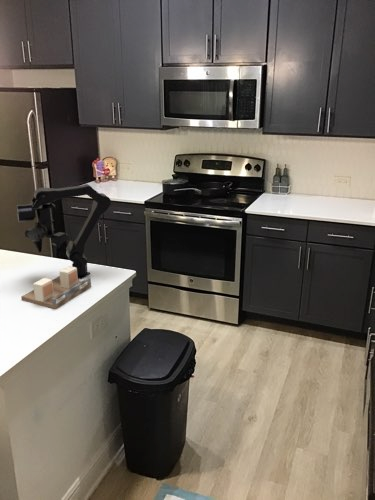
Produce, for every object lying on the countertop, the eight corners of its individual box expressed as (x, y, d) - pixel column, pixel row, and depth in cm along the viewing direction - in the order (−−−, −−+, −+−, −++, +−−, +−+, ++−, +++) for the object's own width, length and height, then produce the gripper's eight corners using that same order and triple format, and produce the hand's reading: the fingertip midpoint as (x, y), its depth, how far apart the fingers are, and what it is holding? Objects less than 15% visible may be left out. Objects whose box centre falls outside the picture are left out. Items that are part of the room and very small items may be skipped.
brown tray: (59, 279, 190) (58, 270, 188) (91, 287, 183) (90, 278, 181) (21, 299, 171) (20, 290, 170) (55, 309, 164) (54, 299, 163)
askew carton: (61, 286, 179) (59, 271, 177) (70, 281, 184) (69, 266, 182) (69, 288, 178) (67, 273, 175) (78, 283, 183) (77, 267, 180)
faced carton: (35, 299, 168) (33, 283, 165) (46, 293, 173) (44, 277, 171) (43, 302, 166) (41, 285, 164) (54, 295, 171) (52, 279, 169)
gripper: (12, 220, 176) (17, 256, 182) (48, 227, 169) (52, 264, 174) (32, 214, 186) (36, 248, 191) (67, 220, 178) (70, 255, 184)
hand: (48, 254), depth 185 cm, fingers open, 9 cm apart
